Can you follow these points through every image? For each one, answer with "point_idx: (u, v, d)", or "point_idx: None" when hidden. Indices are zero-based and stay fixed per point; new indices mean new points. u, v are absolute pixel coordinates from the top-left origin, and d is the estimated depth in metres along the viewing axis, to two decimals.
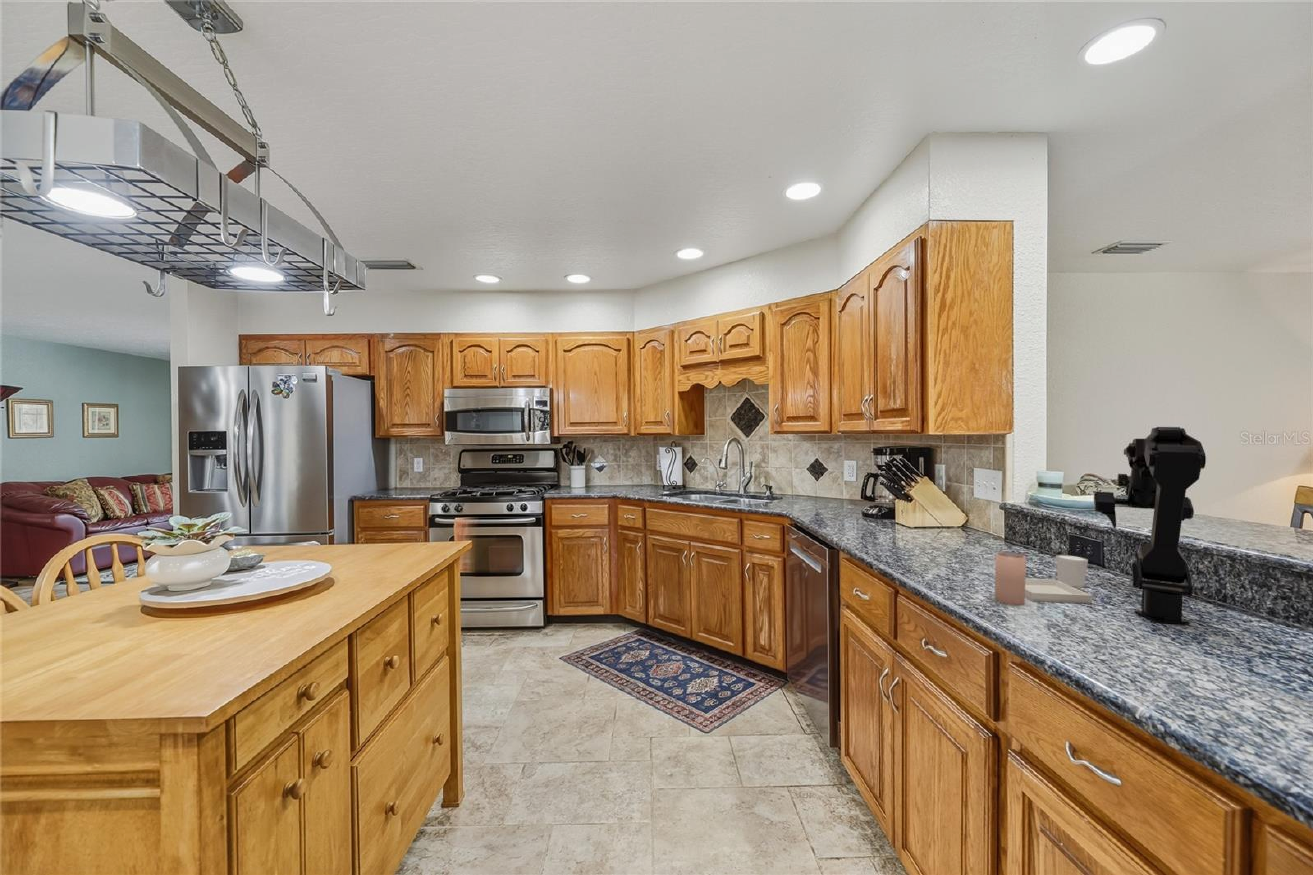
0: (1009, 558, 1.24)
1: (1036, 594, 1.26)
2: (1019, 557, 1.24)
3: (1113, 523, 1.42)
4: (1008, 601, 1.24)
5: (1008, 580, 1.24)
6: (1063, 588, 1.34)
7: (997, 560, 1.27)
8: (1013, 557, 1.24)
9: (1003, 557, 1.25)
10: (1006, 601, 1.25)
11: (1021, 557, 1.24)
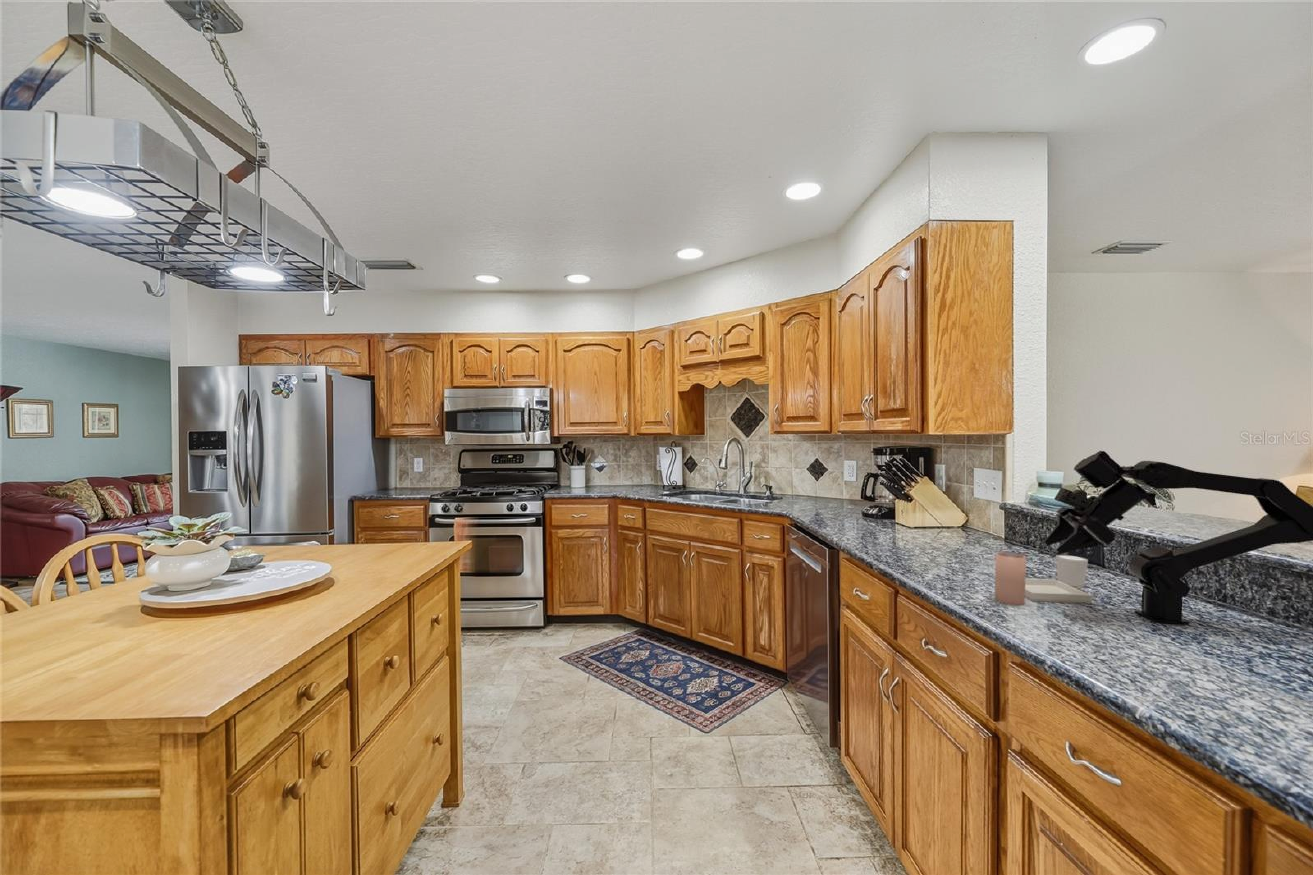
0: (1009, 558, 1.24)
1: (1036, 594, 1.26)
2: (1019, 557, 1.24)
3: None
4: (1008, 601, 1.24)
5: (1008, 580, 1.24)
6: (1063, 588, 1.34)
7: (997, 560, 1.27)
8: (1013, 557, 1.24)
9: (1003, 557, 1.25)
10: (1006, 601, 1.25)
11: (1021, 557, 1.24)
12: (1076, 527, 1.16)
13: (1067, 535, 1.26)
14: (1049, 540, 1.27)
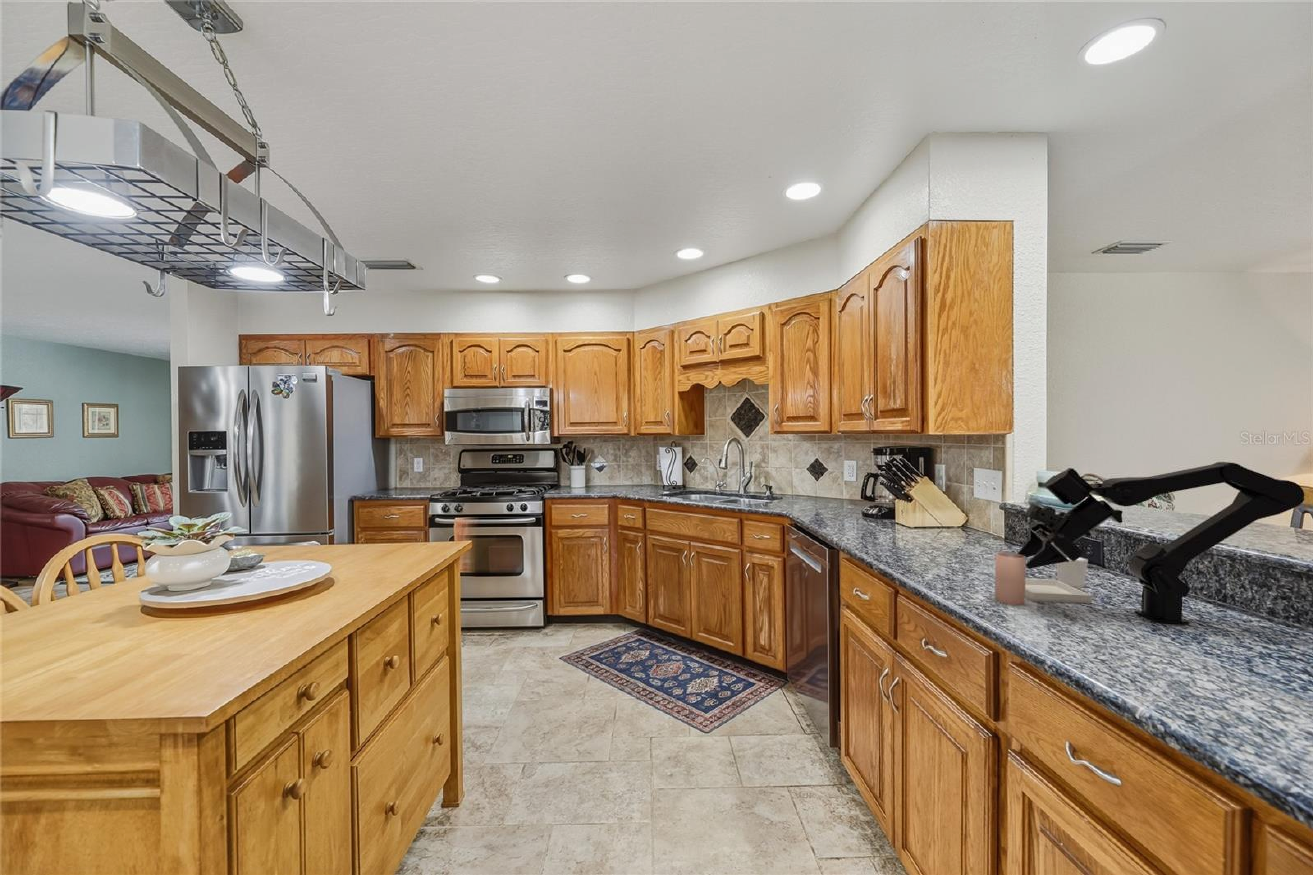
0: (1009, 558, 1.24)
1: (1036, 594, 1.26)
2: (1019, 557, 1.24)
3: None
4: (1008, 601, 1.24)
5: (1008, 580, 1.24)
6: (1063, 588, 1.34)
7: (997, 560, 1.27)
8: (1013, 557, 1.24)
9: (1003, 557, 1.25)
10: (1006, 601, 1.25)
11: (1021, 557, 1.24)
12: (1044, 544, 1.18)
13: (1038, 550, 1.28)
14: (1020, 554, 1.29)
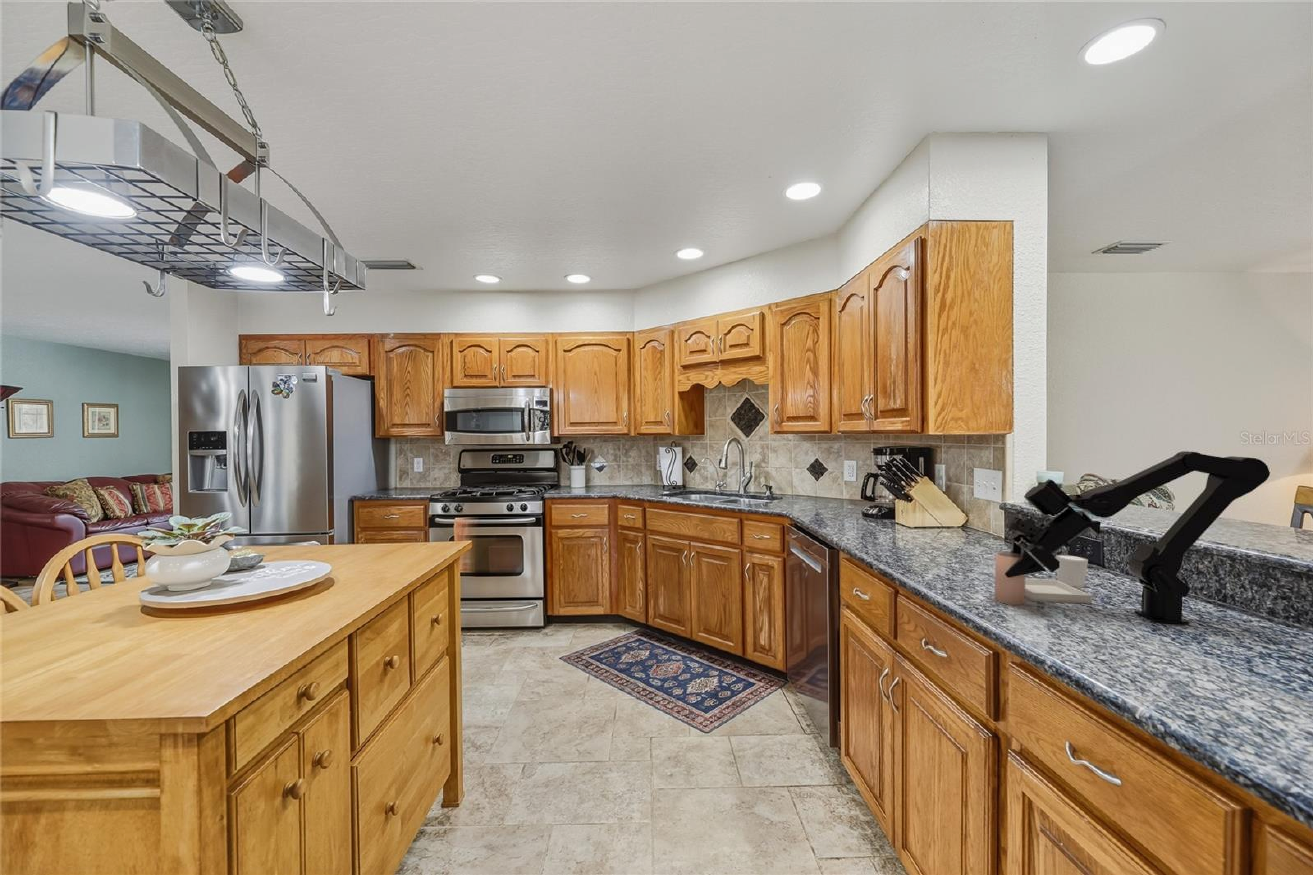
0: (1009, 558, 1.24)
1: (1036, 594, 1.26)
2: (1019, 557, 1.24)
3: None
4: (1008, 601, 1.24)
5: (1008, 580, 1.24)
6: (1063, 588, 1.34)
7: (997, 560, 1.27)
8: (1013, 557, 1.24)
9: (1003, 557, 1.25)
10: (1006, 601, 1.25)
11: None
12: (1022, 553, 1.21)
13: None
14: None
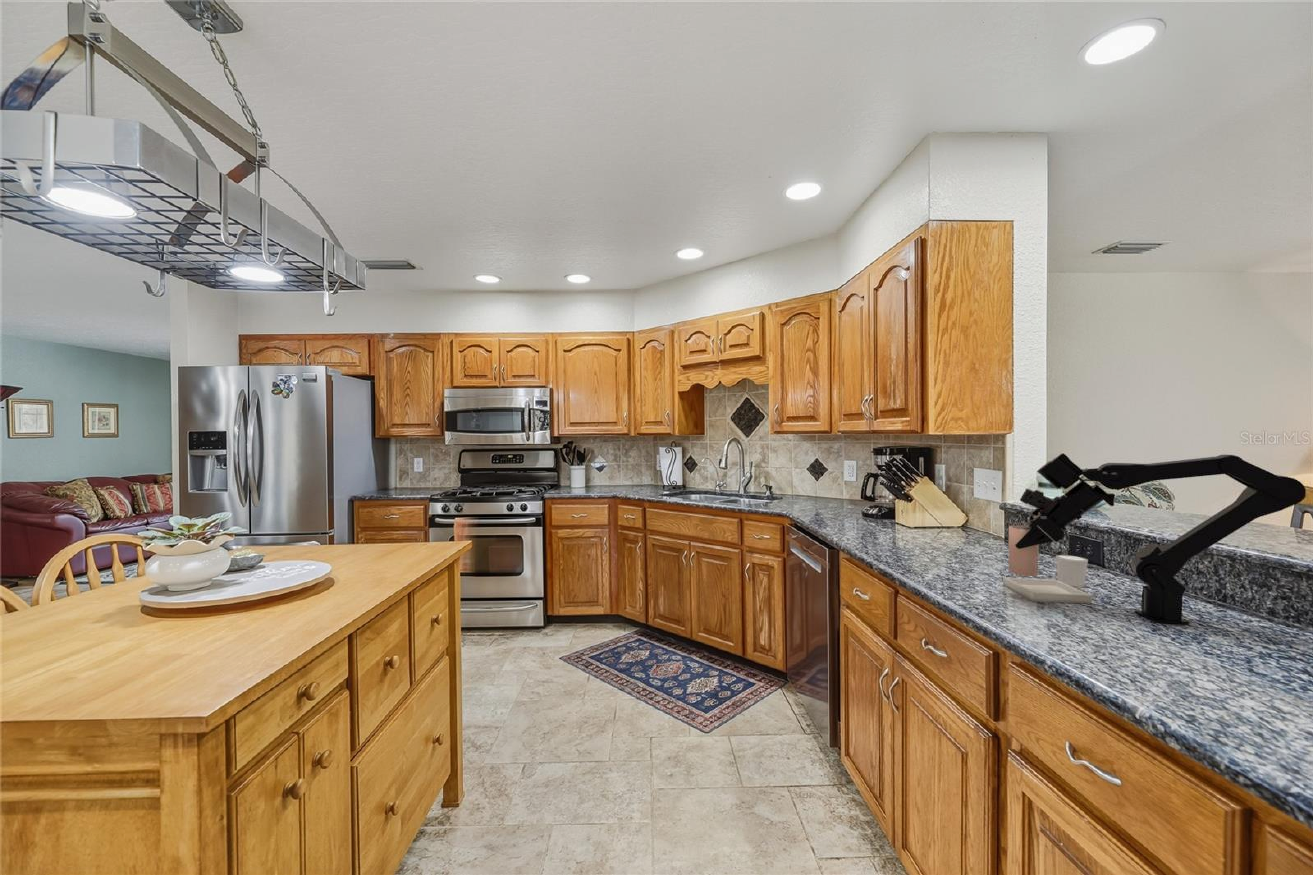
0: (1019, 530, 1.28)
1: (1036, 594, 1.26)
2: None
3: None
4: (1019, 572, 1.28)
5: (1019, 551, 1.28)
6: (1063, 588, 1.34)
7: (1009, 532, 1.31)
8: (1024, 529, 1.28)
9: (1014, 529, 1.29)
10: (1017, 572, 1.28)
11: None
12: (1030, 525, 1.25)
13: None
14: None
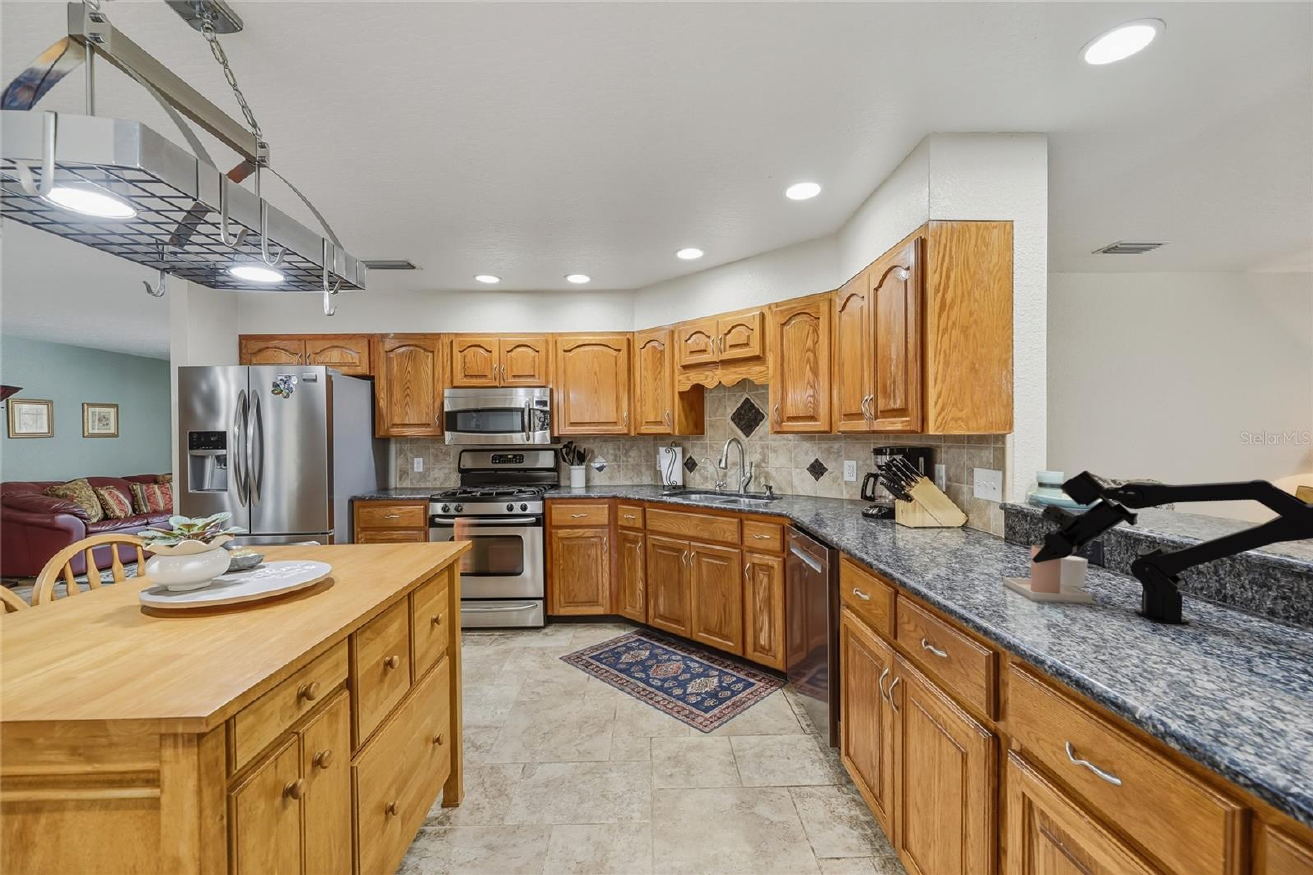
0: (1038, 549, 1.31)
1: (1036, 594, 1.26)
2: None
3: (1046, 560, 1.28)
4: (1037, 590, 1.31)
5: (1037, 570, 1.31)
6: (1063, 588, 1.34)
7: (1031, 551, 1.34)
8: None
9: (1034, 548, 1.32)
10: (1036, 590, 1.31)
11: None
12: None
13: None
14: None
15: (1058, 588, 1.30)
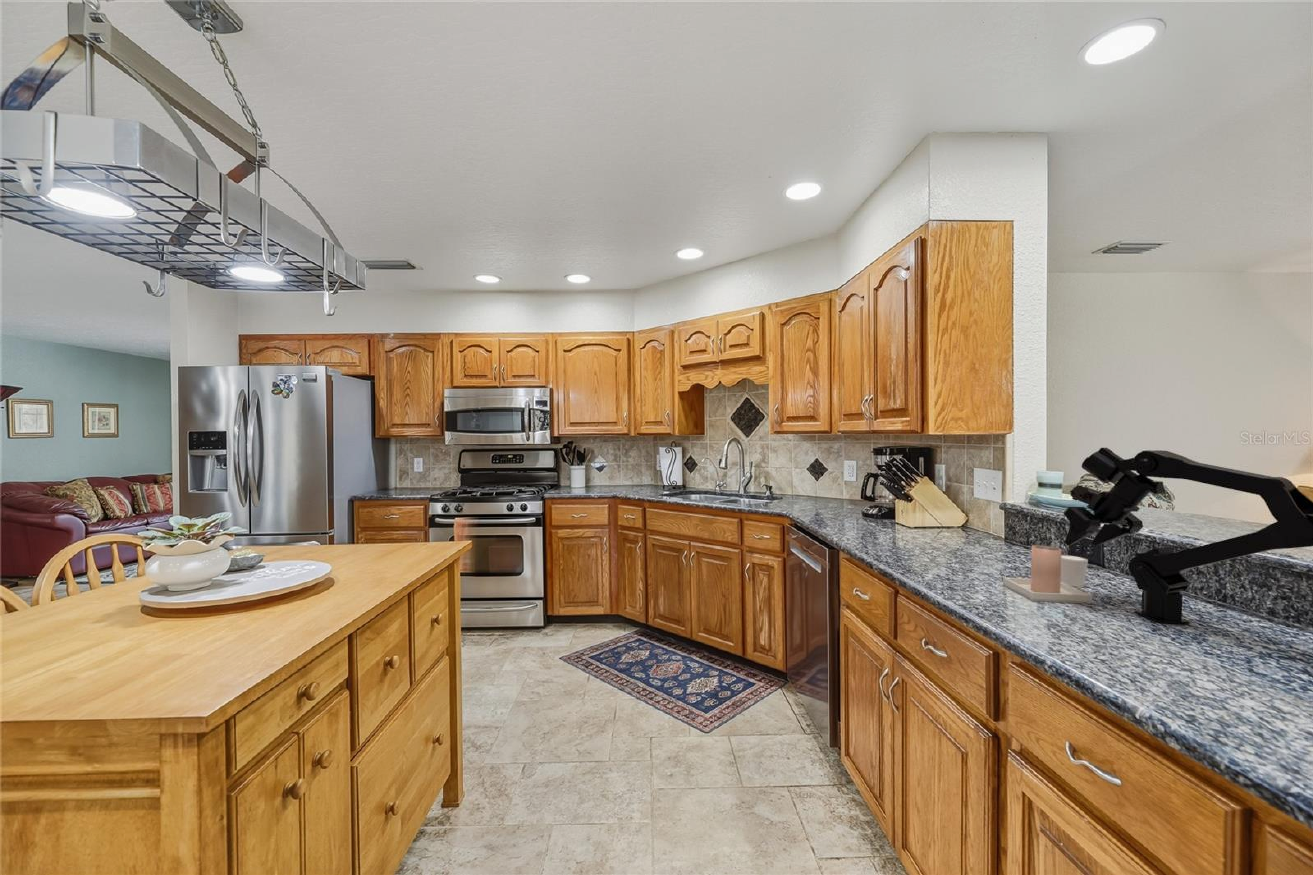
0: (1038, 549, 1.31)
1: (1036, 594, 1.26)
2: (1050, 549, 1.30)
3: (1076, 541, 1.27)
4: (1037, 590, 1.31)
5: (1037, 570, 1.31)
6: (1063, 588, 1.34)
7: (1031, 552, 1.34)
8: (1043, 549, 1.30)
9: (1034, 548, 1.32)
10: (1036, 590, 1.31)
11: (1053, 550, 1.30)
12: None
13: (1112, 535, 1.28)
14: (1095, 541, 1.31)
15: (1058, 588, 1.30)
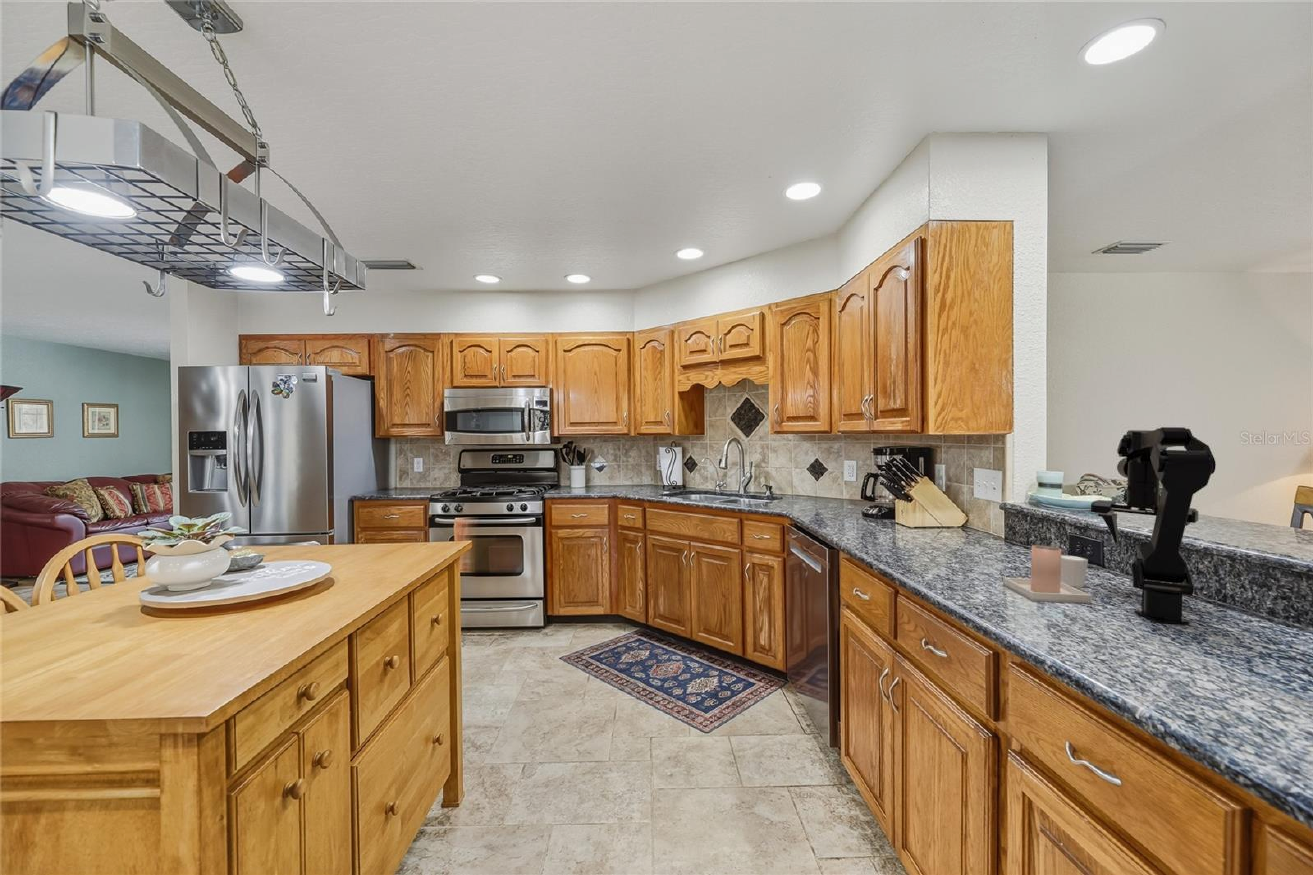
0: (1038, 549, 1.31)
1: (1036, 594, 1.26)
2: (1050, 549, 1.30)
3: (1112, 533, 1.32)
4: (1037, 590, 1.31)
5: (1037, 570, 1.31)
6: (1063, 588, 1.34)
7: (1031, 551, 1.34)
8: (1043, 549, 1.30)
9: (1034, 548, 1.32)
10: (1036, 590, 1.31)
11: (1053, 550, 1.30)
12: None
13: None
14: None
15: (1058, 588, 1.30)
